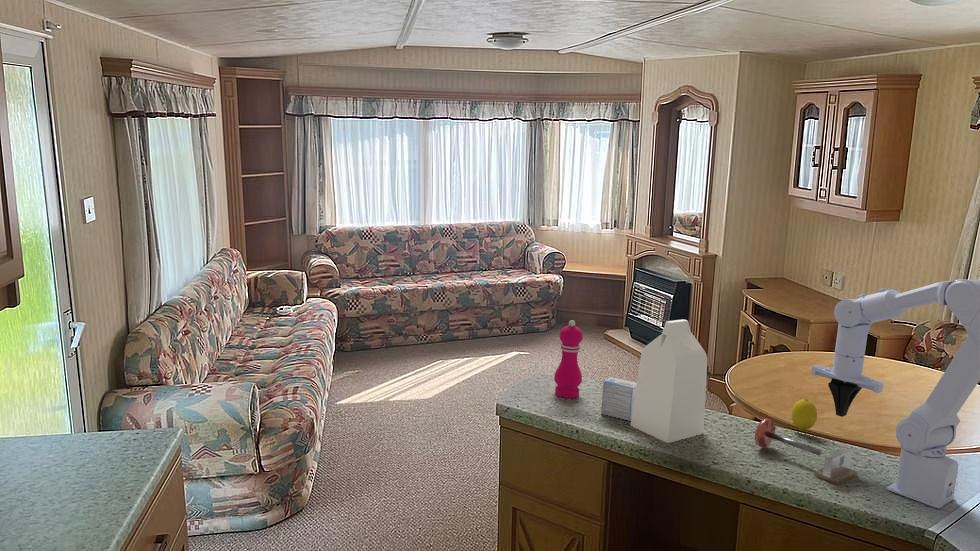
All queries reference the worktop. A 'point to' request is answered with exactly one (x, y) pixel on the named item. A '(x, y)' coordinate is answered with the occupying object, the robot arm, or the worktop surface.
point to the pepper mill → (569, 362)
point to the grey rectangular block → (618, 398)
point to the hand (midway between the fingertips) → (841, 415)
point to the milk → (671, 385)
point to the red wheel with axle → (777, 437)
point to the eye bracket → (837, 467)
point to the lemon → (804, 414)
